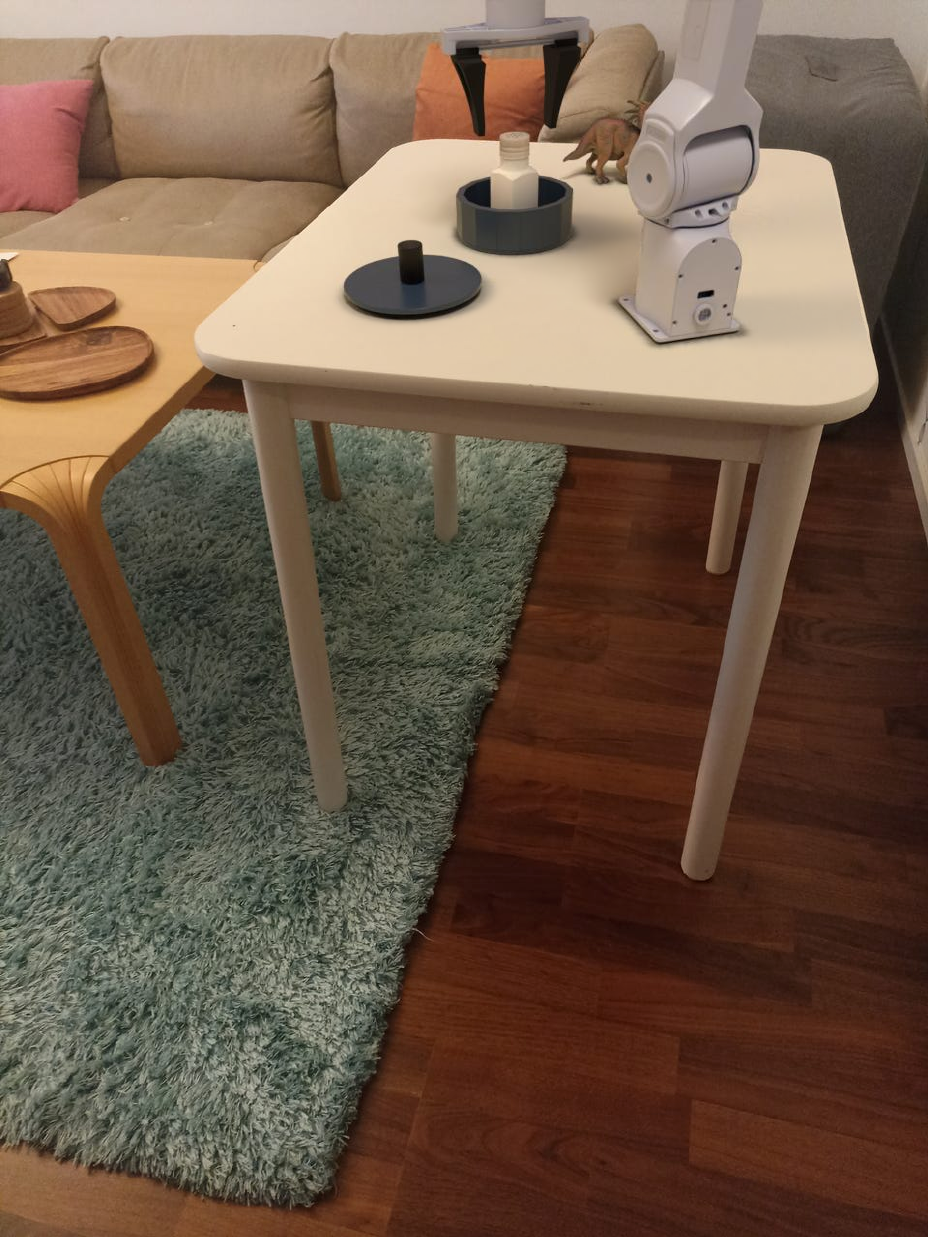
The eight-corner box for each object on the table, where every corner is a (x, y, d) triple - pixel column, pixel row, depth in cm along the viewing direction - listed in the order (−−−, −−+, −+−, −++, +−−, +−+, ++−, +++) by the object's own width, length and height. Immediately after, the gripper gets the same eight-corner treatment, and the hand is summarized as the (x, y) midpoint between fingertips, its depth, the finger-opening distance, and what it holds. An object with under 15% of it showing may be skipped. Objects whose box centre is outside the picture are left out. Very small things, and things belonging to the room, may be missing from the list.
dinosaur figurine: (669, 169, 111) (679, 87, 104) (671, 184, 107) (682, 99, 100) (563, 169, 112) (567, 88, 106) (561, 183, 108) (564, 100, 102)
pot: (586, 246, 93) (589, 202, 90) (474, 260, 91) (473, 217, 88) (550, 209, 102) (551, 168, 99) (447, 221, 100) (445, 181, 97)
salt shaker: (516, 221, 98) (516, 127, 91) (539, 229, 96) (541, 134, 89) (489, 229, 96) (487, 135, 90) (512, 238, 94) (512, 142, 87)
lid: (497, 309, 82) (497, 260, 78) (356, 329, 80) (349, 279, 76) (463, 257, 91) (461, 212, 88) (336, 274, 89) (330, 228, 86)
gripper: (575, -44, 84) (568, 113, 93) (430, -33, 81) (438, 127, 91) (600, -36, 79) (591, 129, 88) (447, -24, 76) (454, 145, 86)
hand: (514, 130), depth 89 cm, fingers open, 7 cm apart
